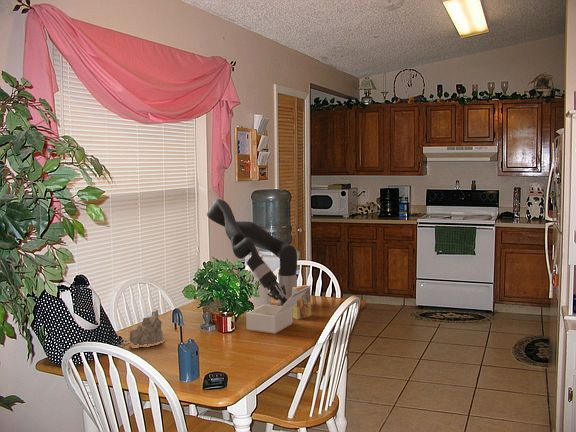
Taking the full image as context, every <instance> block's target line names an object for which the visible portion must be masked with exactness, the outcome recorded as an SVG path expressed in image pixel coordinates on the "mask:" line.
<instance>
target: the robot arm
mask: <svg viewBox="0 0 576 432" xmlns="http://www.w3.org/2000/svg"><path fill="white" fill-rule="evenodd" d="M206 217H208V219H210V220H211V221H212V222H214V223H216V224H218V225H220V226H222V227H224V229H225V230H224V231H225V234H226V236H227V238H228V239H229V241H230V243H231V248H232V252H233V255H234V256H235V257H236V258H237V259H240V260H242V259H245V258H246V257H247V256H248V255H249V254H250V256H251V257H250V256H249V259H248V260H247V261H246V265H248V266H249V268H250V269H251V270H252V272H253V273H254V275H255V276H256V278H257V279H258V280H259V282H260V283H261V284H262V286H263V287H264V288H267V289H268V291H269V292H268V293H267V294H268V295H269V296H270V297H271V299H274V300H275V301H279V306H283V305H284V303H285V302H286V301H287V300H288V299H289V298H290V297H291V296H292V288H293V287H298V285H297V269H298V253H297V249H296V248H295V247H294V246H293V245H292V244H290V243H288V242H287V243H286V242H284V241H282V240H279V239H278V238H276V237H275V236H273V235H272V234H270V233H269V232H268V231H267V230H265V229H264V228H263V227H261V225H260V226H259V225H258V224H257V223H254V222H253V221H236V218H235V216H234V212H233V210H232V208H231V206H230V205H229V204H228V202H226V201H225V200H224V199H221V198H217V199H216V200H214V201H213V203H212V205H211V206H210V207H209V209H208V210H207V212H206ZM256 246H258V247H261V248H264V249H266V250H268V251H269V252H270V253H272V254H273V255H275V256H276V257H277V258H278V259H279V268H278V277H277V276H276V275H275V273H274V272H273V271H272V269H271V268H270V267H269V266H267V265H268V264H267V263H266V262H265V260H263V259H261V257H260V256H259V255H260V253H259V252H258V250H257V247H256ZM264 262H265V263H266V264H267V265H266V264H265V263H264ZM277 280H278V281H277Z"/></svg>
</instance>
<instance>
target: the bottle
mask: <svg viewBox="0 0 576 432" xmlns="http://www.w3.org/2000/svg"><path fill="white" fill-rule="evenodd" d="M259 256H260V257H261V259H262V260H263V259H264V256H263V255H262V254H259ZM250 257H251V255H250V256H249V258H250ZM264 263H265V264H266V265H267V266H268V264H267V263H266V262H265V261H264ZM268 267H269V266H268ZM244 270H248V271H251V272H252V270H251V269H250V268H249V266H248V265H247V264H246V265H245V268H244ZM252 275H253V277H254V281H253V283H254V284H255V283H256V281H259V280H258V279H257V278H256V276H255V275H254V273H253V272H252ZM258 290H259V295H260V297H259V298H256V297H254V296H252V297H251V298H249V300H250V301H251V302H252V303H253V305H254V309H256V308H258V307H260V306H262V305H264V304H266V305H272V297H270V296H269V295H268V294H267V293H268V292H269V291H268V289H267V288H264V287H263V286H262V284H261V285H260V287H259V289H258Z"/></svg>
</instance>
